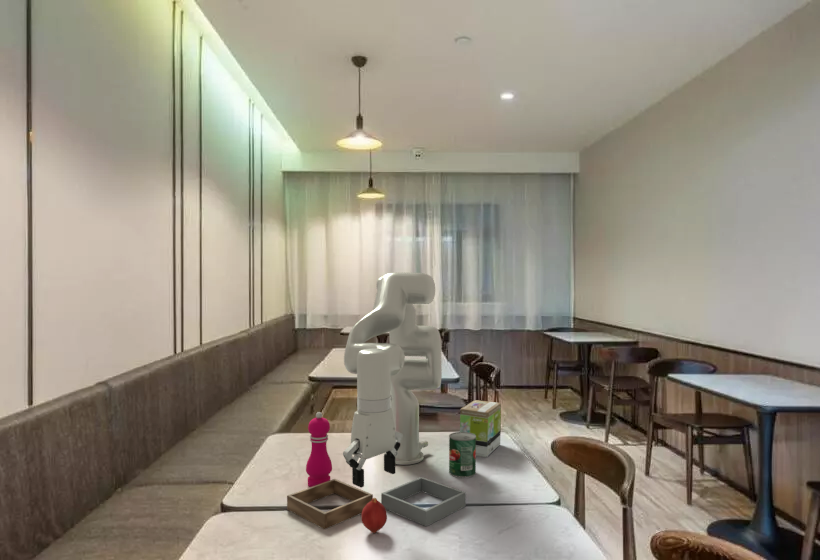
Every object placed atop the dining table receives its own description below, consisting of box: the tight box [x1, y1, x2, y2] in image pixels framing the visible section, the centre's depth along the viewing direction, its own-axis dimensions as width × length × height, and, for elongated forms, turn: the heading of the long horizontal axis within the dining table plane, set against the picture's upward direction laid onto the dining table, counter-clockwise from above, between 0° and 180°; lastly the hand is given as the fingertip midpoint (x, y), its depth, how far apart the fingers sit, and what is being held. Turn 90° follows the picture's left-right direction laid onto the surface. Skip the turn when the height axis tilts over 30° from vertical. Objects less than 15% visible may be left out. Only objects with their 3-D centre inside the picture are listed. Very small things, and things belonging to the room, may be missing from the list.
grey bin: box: [380, 476, 467, 527], centre depth 135 cm, size 15×15×4 cm
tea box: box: [459, 399, 502, 458], centre depth 179 cm, size 15×10×15 cm, turn 155°
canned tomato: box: [448, 431, 477, 479], centre depth 158 cm, size 8×8×11 cm
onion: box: [360, 497, 388, 534], centre depth 121 cm, size 6×6×8 cm
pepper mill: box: [305, 411, 333, 488], centre depth 149 cm, size 7×7×20 cm
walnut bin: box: [286, 478, 374, 530], centre depth 133 cm, size 15×15×4 cm
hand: (374, 478), depth 121 cm, fingers open, 9 cm apart
